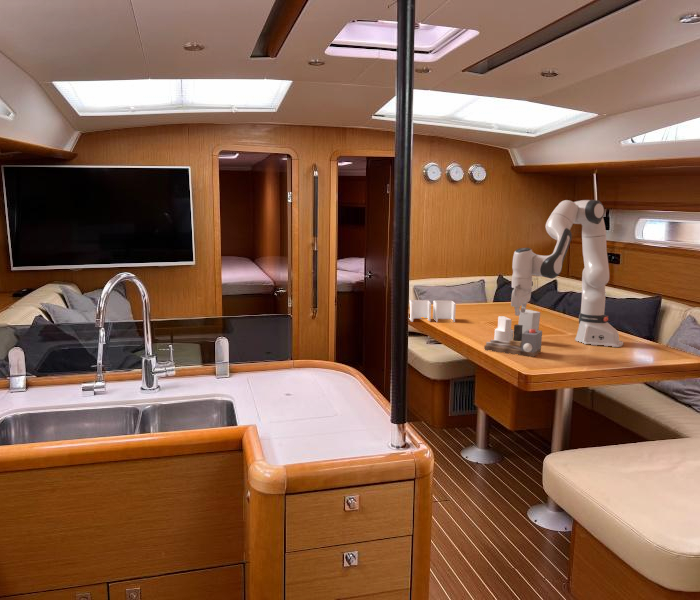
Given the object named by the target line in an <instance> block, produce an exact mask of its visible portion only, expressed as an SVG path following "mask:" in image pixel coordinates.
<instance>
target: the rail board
mask: <svg viewBox="0 0 700 600" xmlns="http://www.w3.org/2000/svg"><path fill="white" fill-rule="evenodd" d="M485 343H486V344H485V345H484V347H483V350H484V349H485V350H484V351H488V350H492V351H491V352H495V351H496V353H502V352H505V353H504V354H509V353H511V354H510V355H515V354H518V355H517V356H522V355H523V356H524V357H529V356H531V355H534V356H535V357H536V356H537V355H538V352H540V353H541V351H542V347H541V348H540V346H539V350H537V351H536V352H537V354H536V352H535V353H531V352H524V351H522V352H521V347H518V346H511V345H509V342H505V341H498V340H494V339H490V341H486V342H485ZM521 353H522V355H521ZM524 354H526V356H525V355H524ZM527 355H529V356H527ZM523 356H522V357H523ZM534 356H531V358H535V357H534Z"/></svg>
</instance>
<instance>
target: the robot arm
mask: <svg viewBox="0 0 700 600" xmlns="http://www.w3.org/2000/svg"><path fill="white" fill-rule="evenodd" d="M604 215H605V206H604V205H603V203H602V202H601V201H600V200H597V199H582V200H576V201H572V200H570V199H569V200H568V199H565V200H562V201H560V202H559V203H558V205H557V206H556V207H555V208H554V209H553V211H552V212H551V214H550V215H549V217H548V219H547V220H546V222H545V231H546V233H547V234H548V236H550V237H551V239H554V240H555V241H556V244H555V246H554V249H553V251H552V253H551V254H549V255H541V254H537V253H535V252H534V251H533V249H532V248H529V247H521V248H519V247H518V248H516V250H515V251H514V252H513V256H512V264H511V265H512V266H511V267H512V275H511V288H512V292H511V299H510V306H511V307H513V308H514V315H515V316H517V317H519V315H520V310H521V312H523V313H524V312H525V310H526V309H527V304H528V303H529V302H530V301H531V297H532V292H533V291H532V289H533V288H532V287H533V286H534V281H533V276H535V277H543V278H546V279H547V278H548V279H550V280H551V279H556V278H557V277H558V276H559V275H560V274H561V272H562V271H563V264H564V261H565V258H566V255H567V253H568V250H569V247H570V243H571V242H572V238H573V237H572V236H573V235H572V231H571V228H572V227H573V224H574V225H581V239H582V240H581V243H582V244H581V245H582V248H581V249H582V257H583V264H584V265H583V266H584V268H583V269H582V273H581V275H582V277H581V302H580V303H581V304H580V305H581V306H580V312H579V315H578V328H577V332H576V336H575V338H574V341H576V342H578V341H579V342H578V343H581V342H582V343H581V344H583V343H584V344H583V345H586V344H591V345H590V346H597V345H604V346H603V347H608V346H612V347H611V348H620V347H621V348H622V347H623V346H624V341H623V340H620V335H619V332H618V330H617V329H616V328H615V327H613V326H612V325H611V324H610V323H609V315H606V314H605V312H606V311H605V309H606V300H607V299H606V285H607V284H608V282H609V281H610V268H609V267H610V266H609V257H608V252H607V251H608V249H607V231H606V230H607V229H606V224H605V220H604Z"/></svg>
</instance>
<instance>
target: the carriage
mask: <svg viewBox="0 0 700 600" xmlns="http://www.w3.org/2000/svg"><path fill="white" fill-rule="evenodd" d="M522 326H523V325H518V324H517V323H516V324H514V326H513V339H512V340H510V342H509V345H511V346H518V347H521V342H522Z"/></svg>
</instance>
